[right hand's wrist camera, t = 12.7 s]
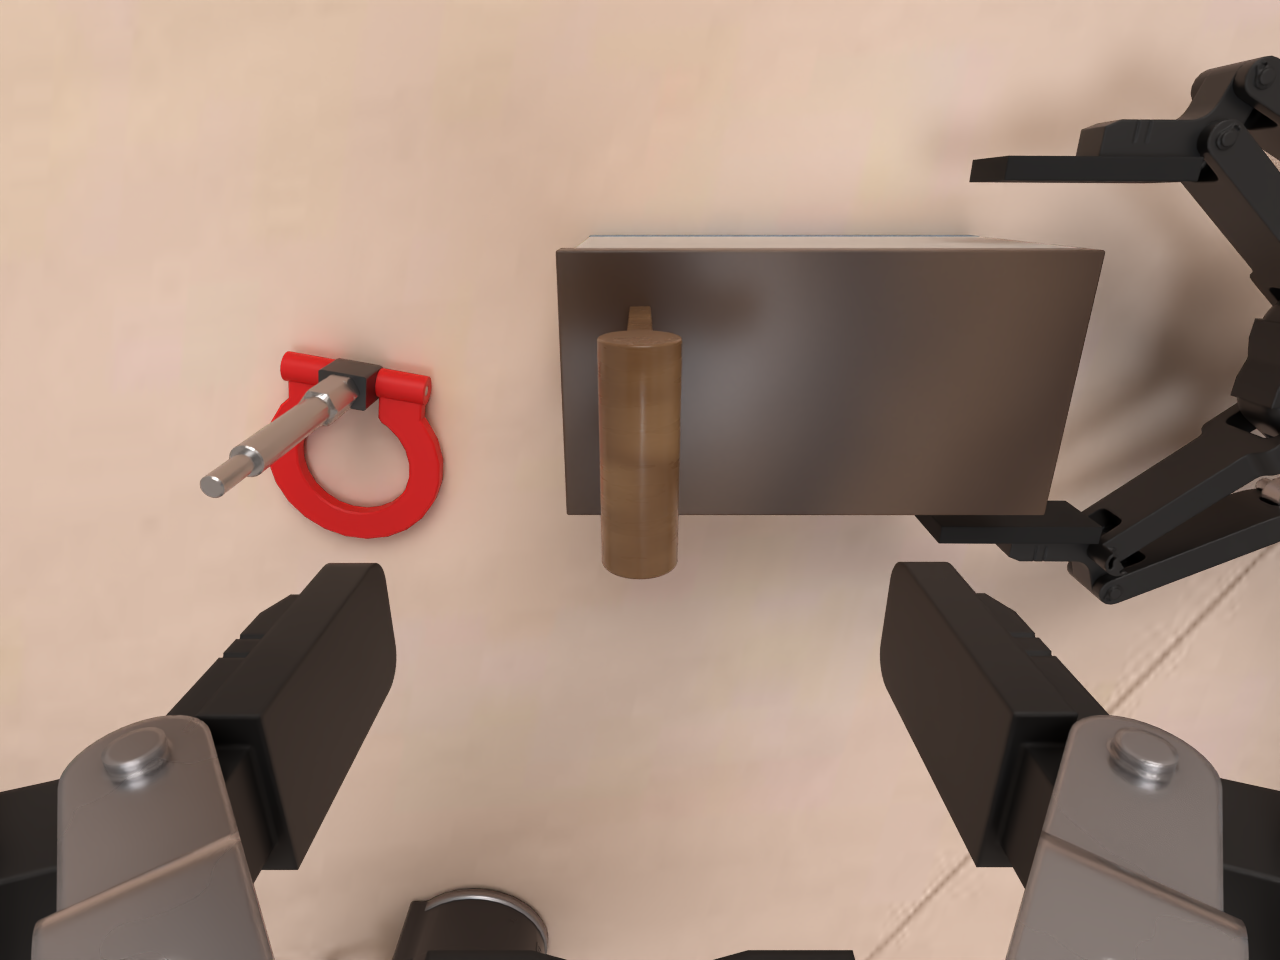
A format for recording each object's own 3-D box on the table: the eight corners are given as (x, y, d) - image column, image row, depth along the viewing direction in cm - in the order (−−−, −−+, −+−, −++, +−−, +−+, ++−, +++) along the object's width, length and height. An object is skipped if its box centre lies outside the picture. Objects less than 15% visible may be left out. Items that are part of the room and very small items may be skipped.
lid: (570, 501, 27) (539, 631, 19) (559, 248, 24) (517, 273, 16) (1027, 502, 27) (1193, 632, 19) (1083, 248, 24) (1316, 272, 15)
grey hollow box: (595, 432, 35) (581, 501, 27) (590, 235, 32) (573, 247, 24) (937, 432, 35) (1026, 501, 27) (970, 235, 32) (1082, 247, 24)
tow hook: (440, 540, 38) (452, 374, 34) (343, 713, 26) (346, 487, 22) (279, 513, 37) (274, 342, 33) (107, 677, 25) (69, 440, 22)
